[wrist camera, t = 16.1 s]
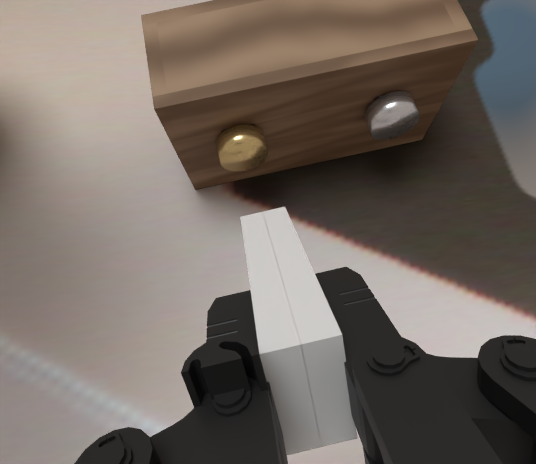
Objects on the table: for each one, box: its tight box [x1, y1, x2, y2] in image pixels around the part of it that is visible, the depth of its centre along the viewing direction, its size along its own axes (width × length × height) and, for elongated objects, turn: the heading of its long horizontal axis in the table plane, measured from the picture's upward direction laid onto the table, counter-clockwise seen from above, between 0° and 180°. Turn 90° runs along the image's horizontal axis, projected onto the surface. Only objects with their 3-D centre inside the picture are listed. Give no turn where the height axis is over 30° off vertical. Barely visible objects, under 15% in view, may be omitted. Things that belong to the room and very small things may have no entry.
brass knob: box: [216, 125, 268, 171], centre depth 36 cm, size 6×4×4 cm
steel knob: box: [365, 91, 420, 140], centre depth 37 cm, size 6×4×4 cm
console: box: [141, 0, 478, 190], centre depth 39 cm, size 10×26×14 cm, turn 102°
